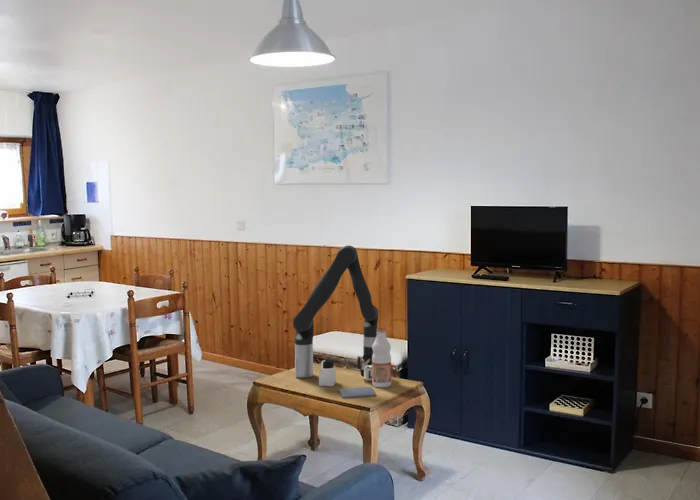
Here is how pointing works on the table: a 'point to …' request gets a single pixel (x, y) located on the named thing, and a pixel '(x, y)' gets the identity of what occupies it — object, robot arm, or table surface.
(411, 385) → the table surface
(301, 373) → the robot arm
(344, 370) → the table surface
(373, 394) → the slate mat
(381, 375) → the white plastic bottle
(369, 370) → the letter cube
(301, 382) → the table surface
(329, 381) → the medicine bottle
